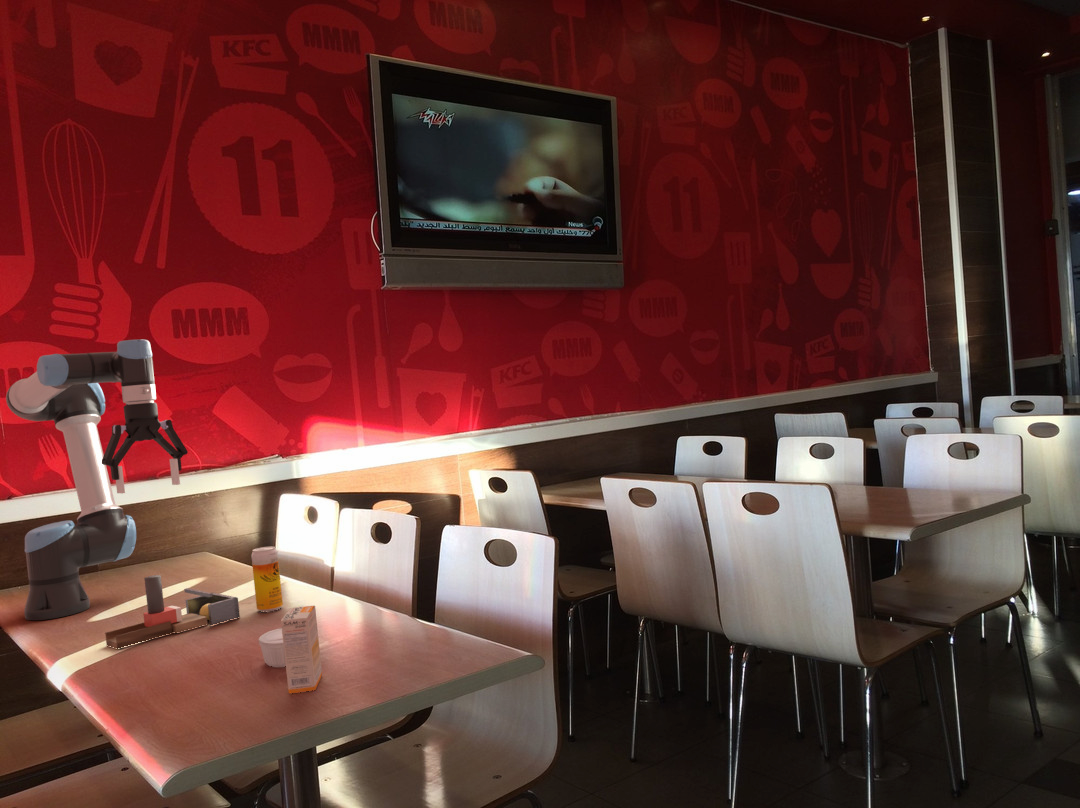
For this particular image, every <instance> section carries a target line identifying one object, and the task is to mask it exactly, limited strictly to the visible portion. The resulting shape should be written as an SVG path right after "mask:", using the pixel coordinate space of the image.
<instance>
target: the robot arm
mask: <svg viewBox="0 0 1080 808" xmlns="http://www.w3.org/2000/svg"><path fill="white" fill-rule="evenodd" d="M116 347H117V349H116V351H105V352H104V351H101V352H84V353H53V354H45V355H44V354H43V355H41V356H39V358H38V360H37V363H36V371H35V372H34V373H32V375H30V376H29V377H27V378H26V377H25V378H22V379H19V380H16V381H15V382H14V383H13V384H12V385H11V386H10V387H9V388H8V390H7V392H6V395H5V401H6V405H7V407H8V409H10V411H11V413H12V414H15V415H16V416H17V417H19V418H21V419H24V420H27V421H32V422H47V421H49V422H51V421H54V426H55V428H56V430H58V431H60V432H62V434H63V438H64V442H65V445H66V451H67V454H68V459H69V464H70V468H71V473H72V477H73V482H74V485H75V490H76V494H77V499H78V502H79V507H80V511H81V512H80V514H79V515H78V517H77V518H76V522H77V524H75V523H74V521H73V520H69V519H68V520H61V521H57V522H56V521H55V522H52V523H48V524H44V525H42V526H38V527H36V528H33V529H31V530H29V531H28V532H27V533H26V534H25V536H24V553H25V557H26V567H27V568H26V569H27V577H28V585H29V588H28V595H27V598H26V602H25V606H24V611H23V612H24V618H25V620H27V621H44V620H53V619H57V618H64V617H68V616H70V615H71V616H72V615H75V614H79V613H81V612H84V611H87V610H88V609H89V608H90V607H91V604H90V603H91V602H90V597H89V596H88V593H87V592H86V589H85V588H84V585H83V583H82V581H81V579H80V578H81V577H80V572H79V571H80V568H81V569H82V568H86V567H90V566H91V567H92V566H95V565H100V564H105V563H110V562H115V563H116V561H120V560H123V559H127V558H129V557H130V556H131V555H132V554H133V552H134V550H135V547H136V542H137V527H136V522H135V519H133V517H132V516H131V515H128V514H125V513H124V508H123V507H120V506H119V505H117V504H116V502H115V497H114V494H113V489H112V488H113V487H112V484H111V481H110V477H109V476H111V479H112V481H115V485H116V486H115V487H116V494H126V491H125V481H124V471H123V466H122V465H120V463H121V462H122V461H123V459H124V457H126V455H127V453H128V452H129V451H130V449H131V447H132V446H133V445H134V444H135V442H143V441H155V442H156V443H157V444H158V445H159V446H160V447H162V449H163V450H165V452H167V454H169V455H170V456H171V457H172V458H169V467H170V468H169V469H170V477H171V485H173V486H178V485H181V480H180V472H181V471H182V468H183V467H182V460H181V458H183V457H184V456H185V455H188V454H189V453H188V450H187V449H188V448H186V447H185V445H184V443H183V442H182V440H181V439H180V437H179V435H178V434H177V432H176V430H175V429H174V426H173V421H172V420H171V419H164V420H162V421H159V411H158V404H157V402H155V401H156V400H157V392H156V384H155V376H154V373H155V372H154V361H153V352H152V347H151V342H150V341H149V340H148V339H128V340H120V341H118V342H117V344H116ZM100 383H101V384H102V383H114V384H115V383H120V385H121V396H122V402H123V404H125V405H124V406H123V414H124V415H123V416H124V420H125V423H124V425H120V424H113V425H112V426H111V436H110V438H109V441H108V443H107V446H106V448H105V451H103V446H102V443H101V440H100V439H101V438H100V434H99V430H98V427H97V426H98V424H99V423H100V422H101V420H102V418H101V416H102V415H104V414H105V412H106V398H105V395H104V392H103V389H102V387H101V386H100ZM161 428H162V430H164V432H165V434H166V435H167V437H168V438H169V440H170V441H171V443H172V444H171V443H170V442H169V441H168V440H167V439H165V437H164V436H163V434H161V433H160V431H159V430H160V429H161ZM124 432H125V433H127V436H126V437H125V439H124V441H123V443H122V444H121V446H120V447H119V449H118V450H117V451H116V449H117V448H118V444H119V442H120V439H121V438H122V437H121V436H122V435H123V434H124ZM115 452H116V453H115ZM107 466H108V467H109V469H110V475H109V473H108V469H107ZM179 471H180V472H179Z"/></svg>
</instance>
